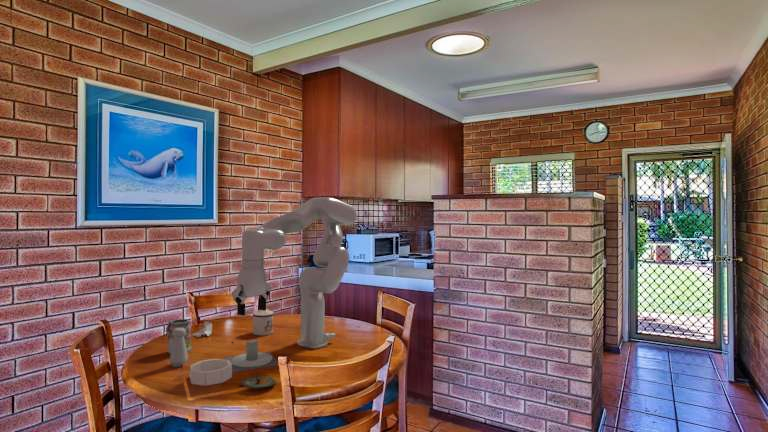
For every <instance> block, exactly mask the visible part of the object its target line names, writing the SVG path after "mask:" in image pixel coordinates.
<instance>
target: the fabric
mask: <svg viewBox="0 0 768 432" xmlns="http://www.w3.org/2000/svg"><path fill="white" fill-rule="evenodd" d="M203 327H204V328H202V329H200V330H198V332H195V333H191V336H192V337H196V338H201V337H204V338H205V336H207V337H209V338H210V335H212V332H213V323H212V322H210V321H205V320H204V324H203Z"/></svg>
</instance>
